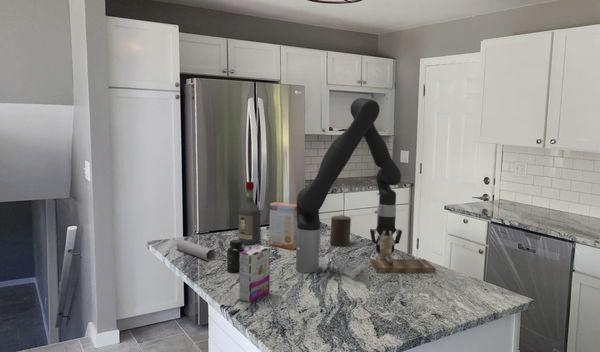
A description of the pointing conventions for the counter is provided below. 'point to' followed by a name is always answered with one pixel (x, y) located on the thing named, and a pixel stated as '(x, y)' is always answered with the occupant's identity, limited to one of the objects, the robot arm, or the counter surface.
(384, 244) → the marking gauge
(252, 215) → the liquor
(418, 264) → the walnut board
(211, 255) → the tube
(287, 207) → the cracker box
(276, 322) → the counter surface
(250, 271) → the candy bar box
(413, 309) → the counter surface
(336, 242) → the pillar candle
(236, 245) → the supplement bottle
